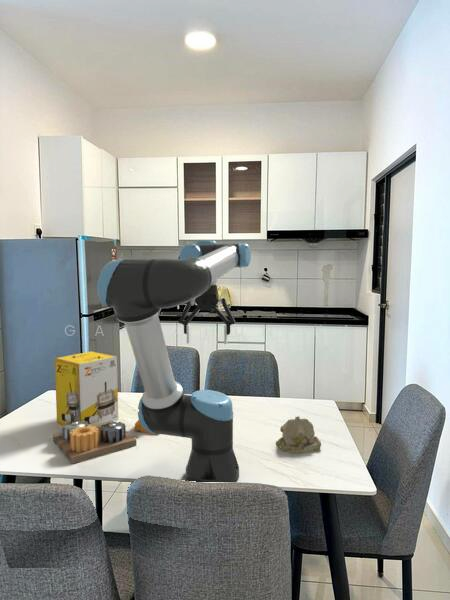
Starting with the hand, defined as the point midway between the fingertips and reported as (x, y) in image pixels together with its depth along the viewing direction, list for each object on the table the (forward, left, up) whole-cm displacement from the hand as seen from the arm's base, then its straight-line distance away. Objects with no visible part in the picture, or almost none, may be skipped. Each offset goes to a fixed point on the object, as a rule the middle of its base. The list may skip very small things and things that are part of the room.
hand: (207, 343), depth 144 cm
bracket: (+13, +16, -32) cm, 38 cm away
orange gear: (+9, +42, -30) cm, 52 cm away
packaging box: (+35, +32, -32) cm, 57 cm away
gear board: (+14, +37, -32) cm, 51 cm away
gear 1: (+19, +42, -30) cm, 55 cm away
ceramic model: (-30, -16, -32) cm, 46 cm away
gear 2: (+9, +32, -30) cm, 45 cm away
